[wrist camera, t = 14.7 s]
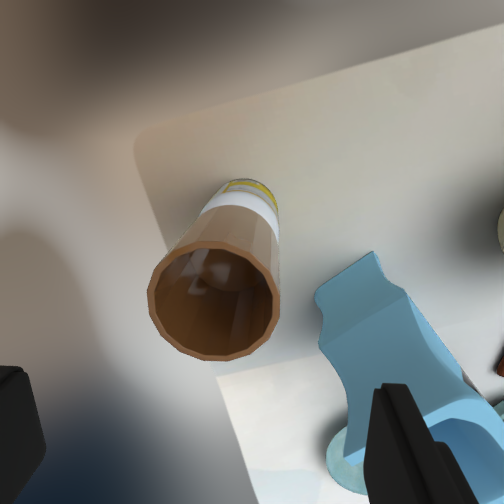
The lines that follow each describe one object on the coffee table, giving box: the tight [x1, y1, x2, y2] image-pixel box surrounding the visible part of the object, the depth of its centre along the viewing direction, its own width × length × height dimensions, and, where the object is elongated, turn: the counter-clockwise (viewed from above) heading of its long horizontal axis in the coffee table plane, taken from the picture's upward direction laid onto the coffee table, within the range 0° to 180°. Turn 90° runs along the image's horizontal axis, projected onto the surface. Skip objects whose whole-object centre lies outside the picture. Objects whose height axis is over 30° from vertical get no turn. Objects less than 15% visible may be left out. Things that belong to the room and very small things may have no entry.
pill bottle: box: [199, 179, 279, 243], centre depth 30 cm, size 6×6×12 cm
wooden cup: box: [147, 205, 280, 361], centre depth 21 cm, size 6×6×8 cm
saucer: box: [326, 426, 368, 495], centre depth 43 cm, size 12×12×2 cm
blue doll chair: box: [314, 251, 504, 504], centre depth 29 cm, size 8×8×20 cm
